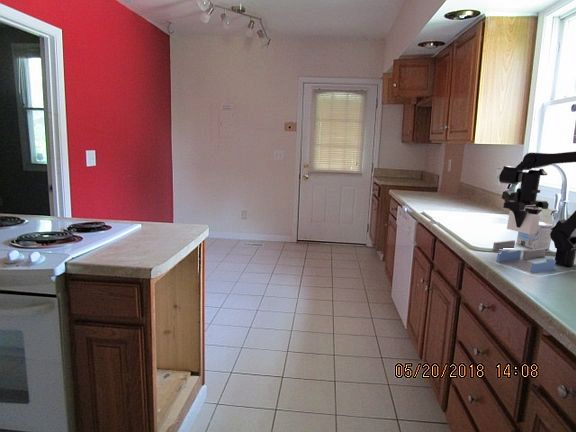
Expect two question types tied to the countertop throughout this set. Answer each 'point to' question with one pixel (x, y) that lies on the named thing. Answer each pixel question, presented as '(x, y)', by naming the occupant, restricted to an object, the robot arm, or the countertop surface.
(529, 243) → the light bulb box
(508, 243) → the grey flat block
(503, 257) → the blue bezel bay
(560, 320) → the countertop surface
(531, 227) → the pale pink flat box
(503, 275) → the countertop surface
